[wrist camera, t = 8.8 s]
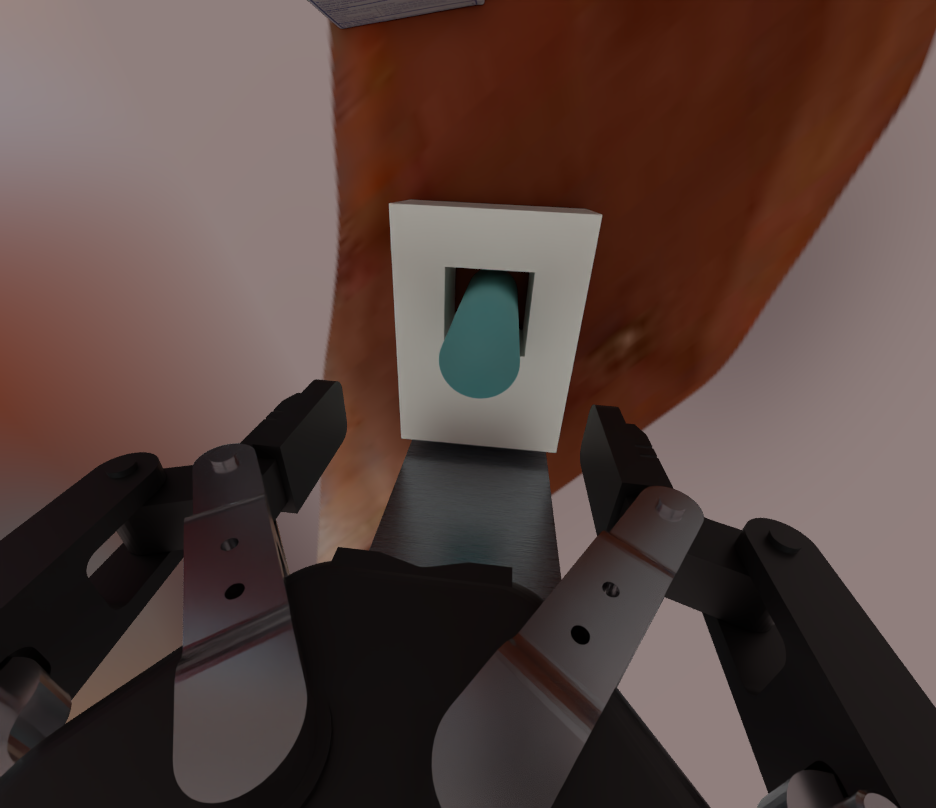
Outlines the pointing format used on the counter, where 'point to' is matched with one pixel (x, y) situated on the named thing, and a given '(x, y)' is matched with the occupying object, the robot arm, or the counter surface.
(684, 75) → the counter surface
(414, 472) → the grey upright panel
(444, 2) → the medicine box
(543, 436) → the socket
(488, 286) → the peg
